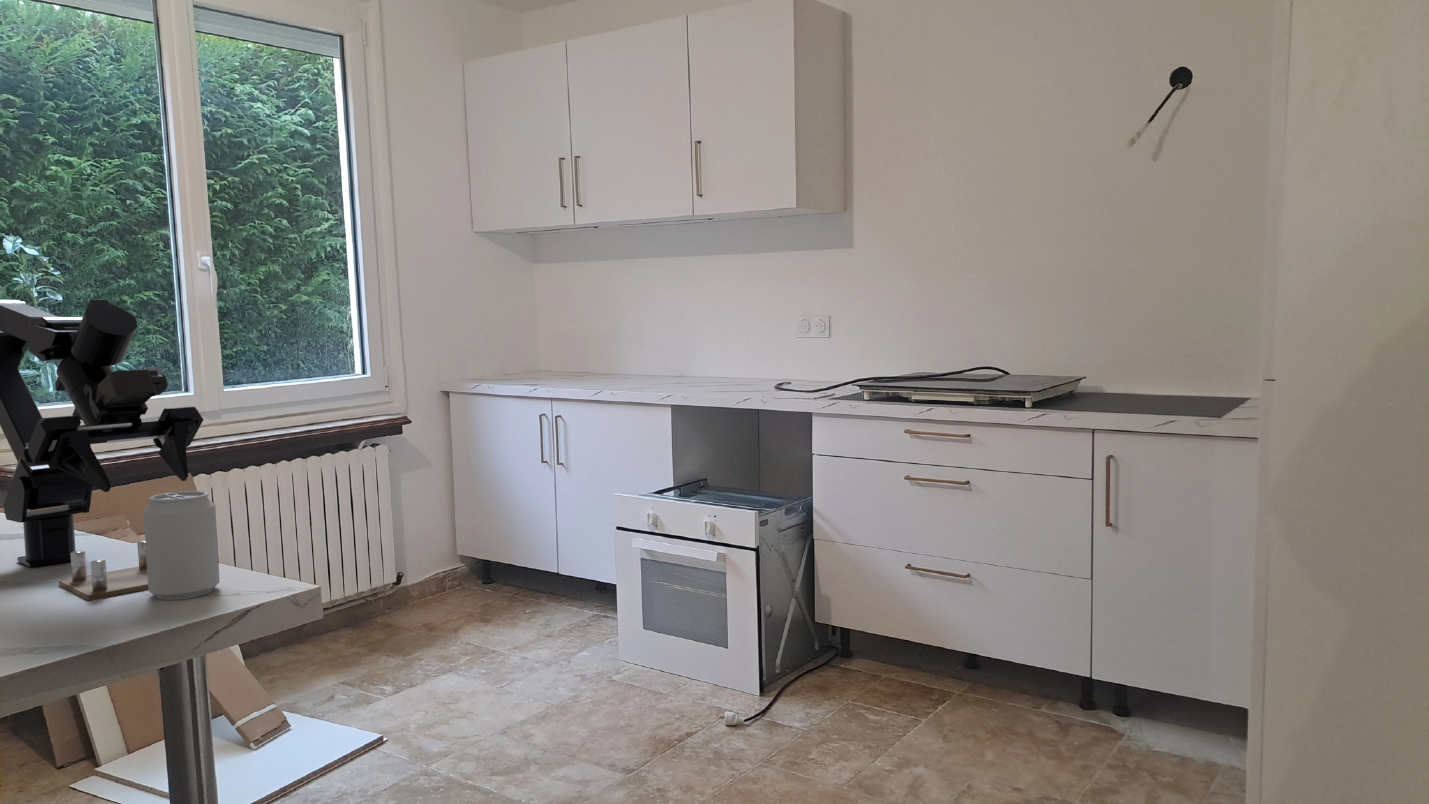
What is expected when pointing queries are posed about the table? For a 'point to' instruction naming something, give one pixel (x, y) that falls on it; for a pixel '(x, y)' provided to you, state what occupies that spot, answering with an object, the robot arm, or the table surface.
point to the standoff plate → (105, 577)
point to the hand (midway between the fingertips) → (148, 483)
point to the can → (181, 545)
